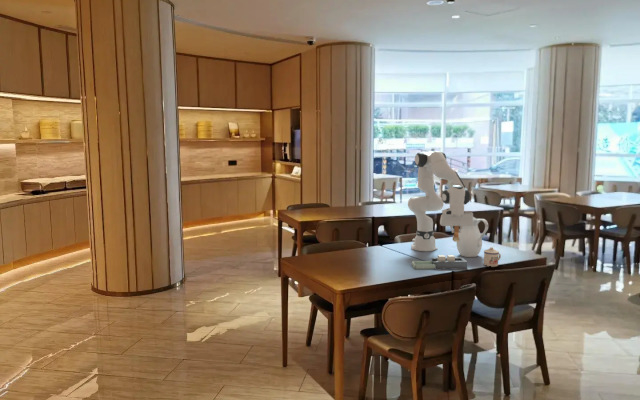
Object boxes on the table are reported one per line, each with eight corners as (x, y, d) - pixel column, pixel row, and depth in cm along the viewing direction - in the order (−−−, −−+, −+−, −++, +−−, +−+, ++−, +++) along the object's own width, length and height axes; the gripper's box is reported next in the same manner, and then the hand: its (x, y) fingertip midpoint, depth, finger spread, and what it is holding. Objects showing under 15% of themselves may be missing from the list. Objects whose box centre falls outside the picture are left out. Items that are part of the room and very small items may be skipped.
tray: (411, 264, 325) (411, 261, 324) (431, 264, 325) (431, 260, 325) (414, 269, 315) (414, 265, 314) (435, 268, 315) (435, 264, 315)
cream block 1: (437, 261, 322) (437, 255, 321) (443, 261, 322) (443, 255, 321) (439, 262, 318) (439, 256, 317) (445, 262, 318) (445, 256, 317)
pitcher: (450, 254, 352) (452, 214, 348) (469, 251, 360) (470, 213, 356) (475, 261, 331) (477, 220, 327) (494, 258, 339) (496, 218, 335)
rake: (452, 240, 321) (453, 225, 319) (457, 240, 321) (457, 225, 319) (454, 241, 316) (455, 226, 315) (459, 241, 316) (459, 226, 315)
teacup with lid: (490, 267, 317) (490, 249, 316) (480, 264, 326) (481, 246, 324) (505, 265, 322) (505, 247, 320) (495, 262, 330) (495, 244, 329)
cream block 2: (446, 261, 322) (447, 255, 321) (453, 261, 322) (453, 254, 321) (448, 262, 318) (448, 256, 317) (454, 262, 318) (455, 256, 317)
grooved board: (431, 264, 325) (431, 257, 325) (462, 264, 326) (462, 257, 325) (435, 268, 315) (435, 261, 314) (467, 268, 315) (467, 261, 315)
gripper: (471, 210, 319) (471, 231, 321) (439, 210, 319) (439, 232, 321) (474, 211, 313) (474, 233, 315) (442, 211, 313) (441, 233, 315)
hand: (456, 232), depth 318 cm, fingers closed on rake, 2 cm apart
